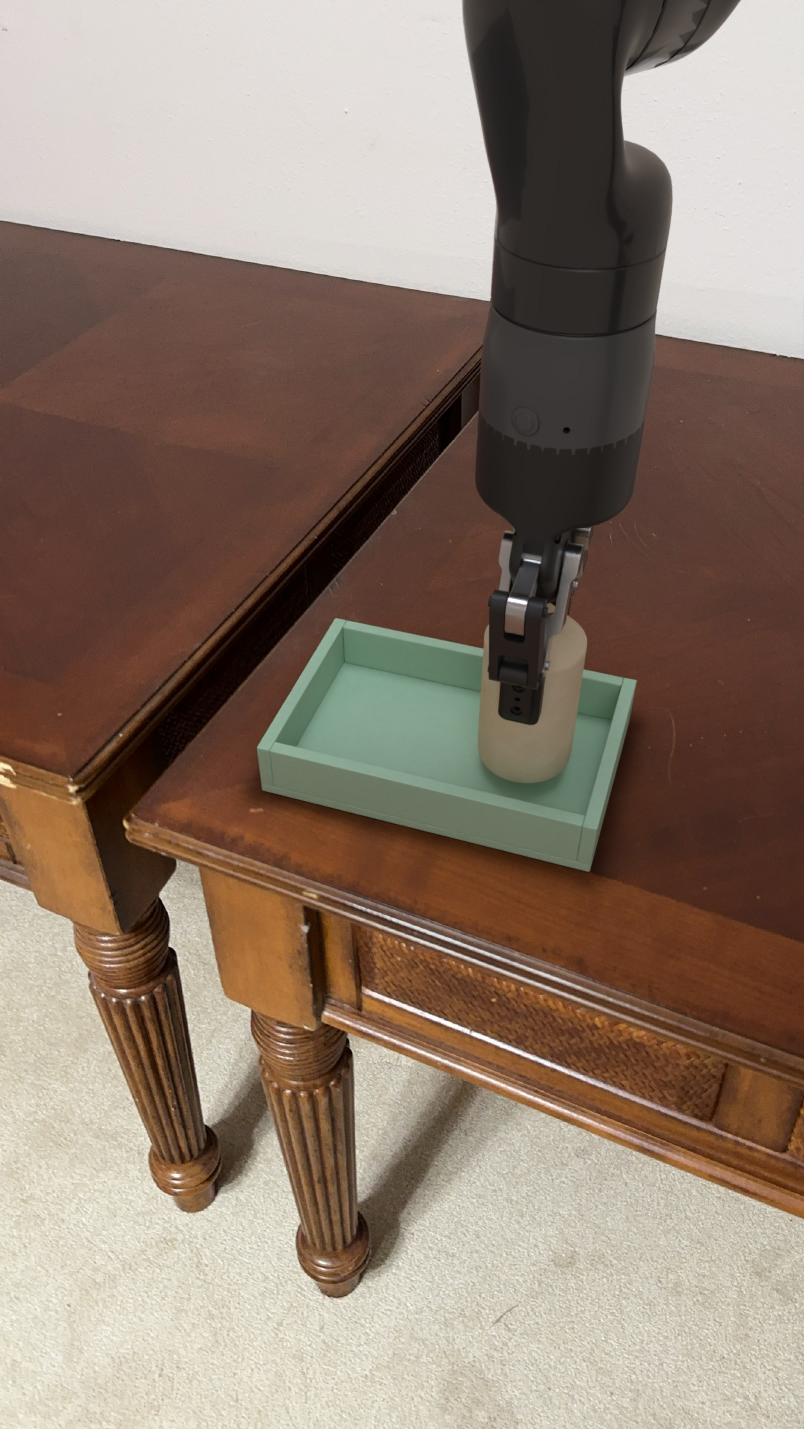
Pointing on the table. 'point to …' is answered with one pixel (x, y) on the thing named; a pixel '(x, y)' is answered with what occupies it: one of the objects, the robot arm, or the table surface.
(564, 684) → the candle
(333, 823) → the table surface
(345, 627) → the tray
